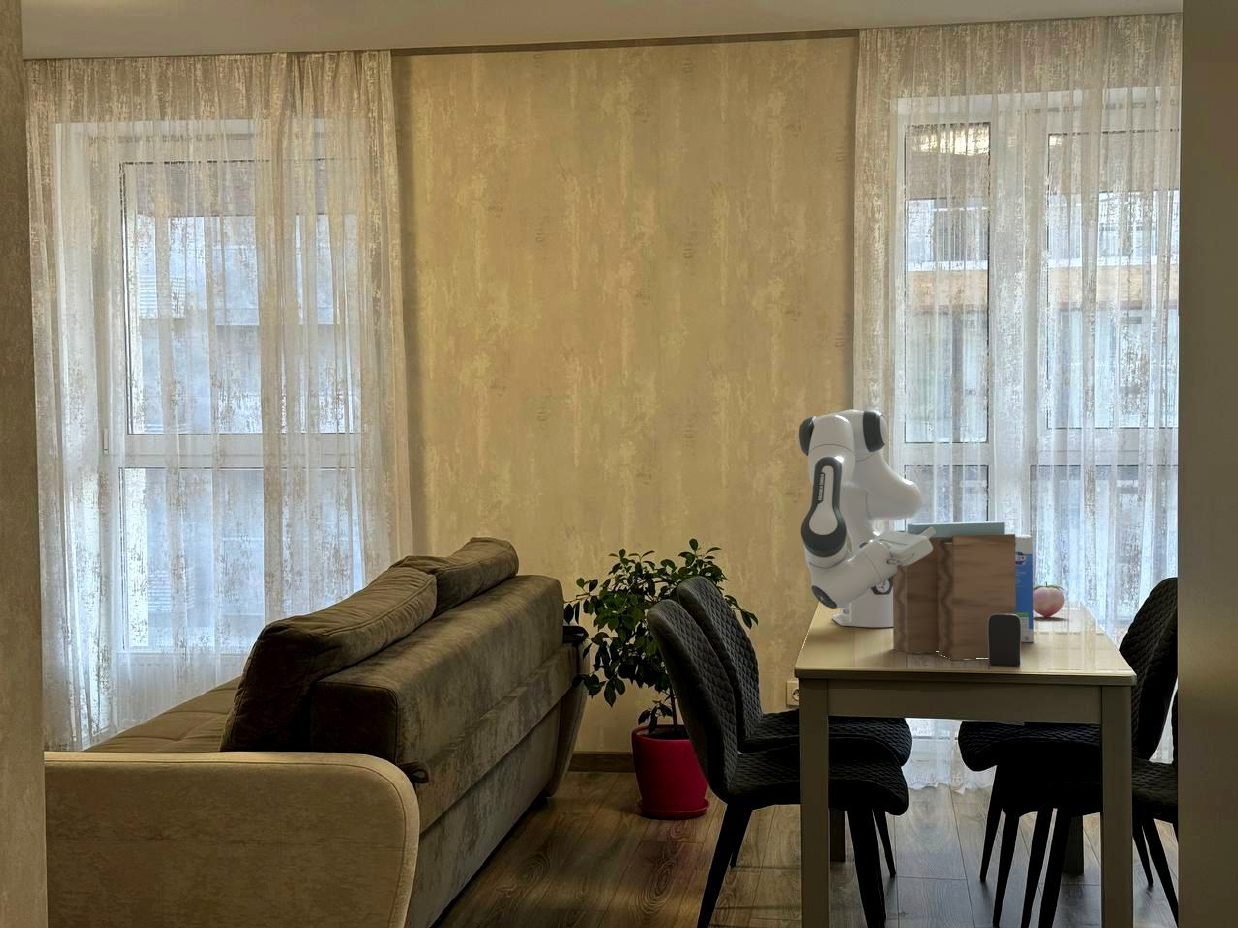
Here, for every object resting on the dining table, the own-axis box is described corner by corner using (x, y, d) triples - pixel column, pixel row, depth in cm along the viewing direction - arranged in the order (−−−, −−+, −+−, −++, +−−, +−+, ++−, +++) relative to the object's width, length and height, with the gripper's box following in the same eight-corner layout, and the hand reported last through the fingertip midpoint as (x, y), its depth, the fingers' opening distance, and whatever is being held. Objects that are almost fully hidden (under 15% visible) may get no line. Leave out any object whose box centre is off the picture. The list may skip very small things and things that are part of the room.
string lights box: (1030, 638, 316) (1029, 534, 315) (1034, 642, 308) (1034, 536, 308) (975, 637, 318) (974, 534, 318) (978, 642, 311) (977, 536, 310)
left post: (893, 648, 303) (892, 530, 302) (951, 645, 306) (950, 529, 305) (907, 653, 295) (906, 533, 295) (967, 650, 298) (966, 531, 298)
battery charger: (1020, 663, 280) (1020, 612, 280) (1021, 667, 277) (1021, 614, 277) (987, 663, 282) (987, 611, 282) (988, 666, 278) (987, 613, 278)
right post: (938, 655, 293) (937, 533, 292) (998, 652, 296) (997, 531, 295) (954, 660, 285) (953, 536, 285) (1016, 657, 288) (1015, 534, 288)
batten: (907, 536, 288) (907, 523, 288) (997, 533, 293) (997, 520, 293) (914, 538, 285) (914, 524, 285) (1004, 535, 290) (1004, 522, 289)
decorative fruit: (1056, 615, 355) (1056, 579, 355) (1068, 619, 347) (1068, 582, 347) (1023, 615, 355) (1023, 579, 354) (1034, 619, 346) (1034, 583, 346)
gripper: (891, 553, 275) (943, 519, 277) (854, 544, 295) (903, 513, 297) (905, 577, 276) (956, 544, 278) (867, 567, 296) (915, 536, 298)
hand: (928, 528), depth 288 cm, fingers closed on batten, 3 cm apart
